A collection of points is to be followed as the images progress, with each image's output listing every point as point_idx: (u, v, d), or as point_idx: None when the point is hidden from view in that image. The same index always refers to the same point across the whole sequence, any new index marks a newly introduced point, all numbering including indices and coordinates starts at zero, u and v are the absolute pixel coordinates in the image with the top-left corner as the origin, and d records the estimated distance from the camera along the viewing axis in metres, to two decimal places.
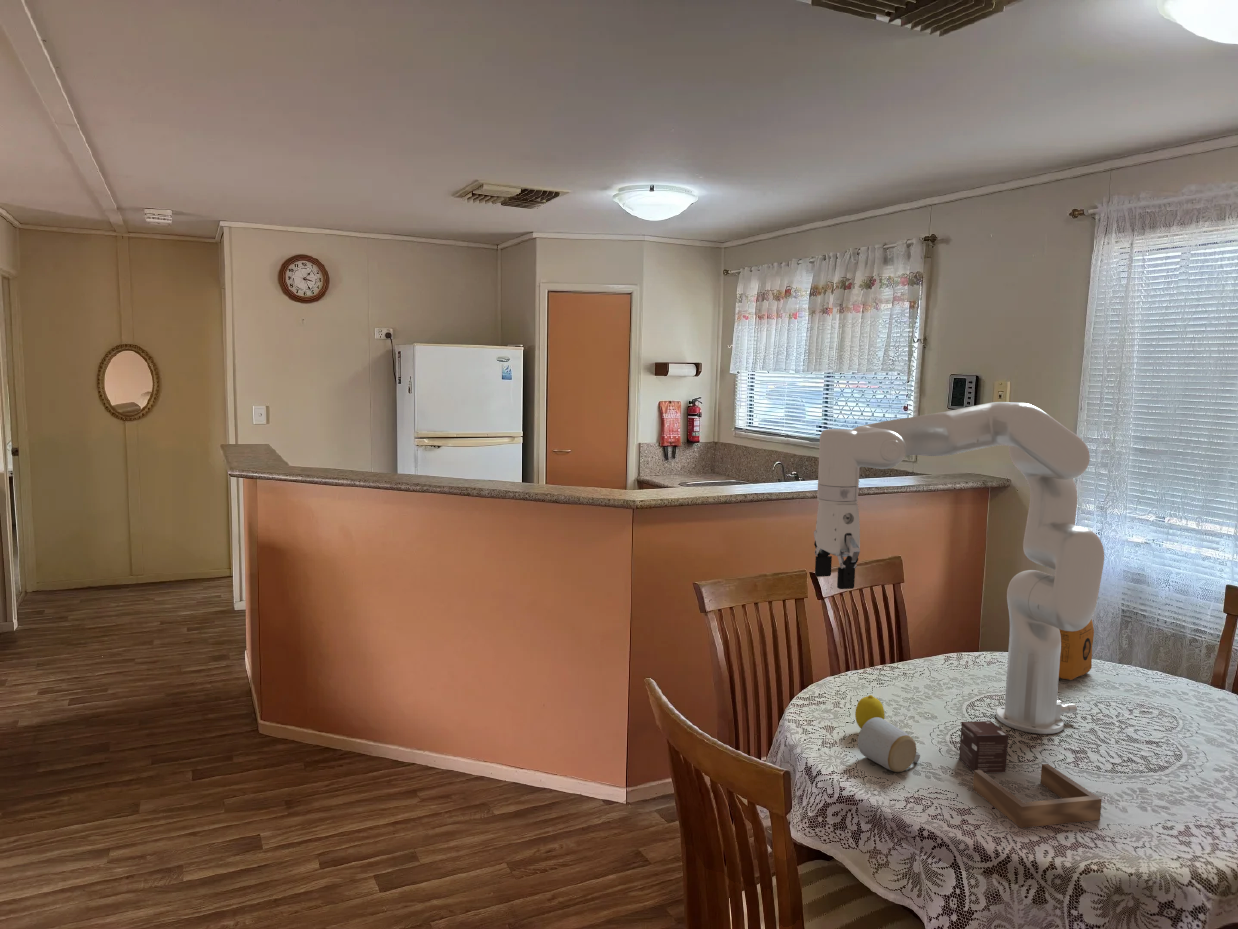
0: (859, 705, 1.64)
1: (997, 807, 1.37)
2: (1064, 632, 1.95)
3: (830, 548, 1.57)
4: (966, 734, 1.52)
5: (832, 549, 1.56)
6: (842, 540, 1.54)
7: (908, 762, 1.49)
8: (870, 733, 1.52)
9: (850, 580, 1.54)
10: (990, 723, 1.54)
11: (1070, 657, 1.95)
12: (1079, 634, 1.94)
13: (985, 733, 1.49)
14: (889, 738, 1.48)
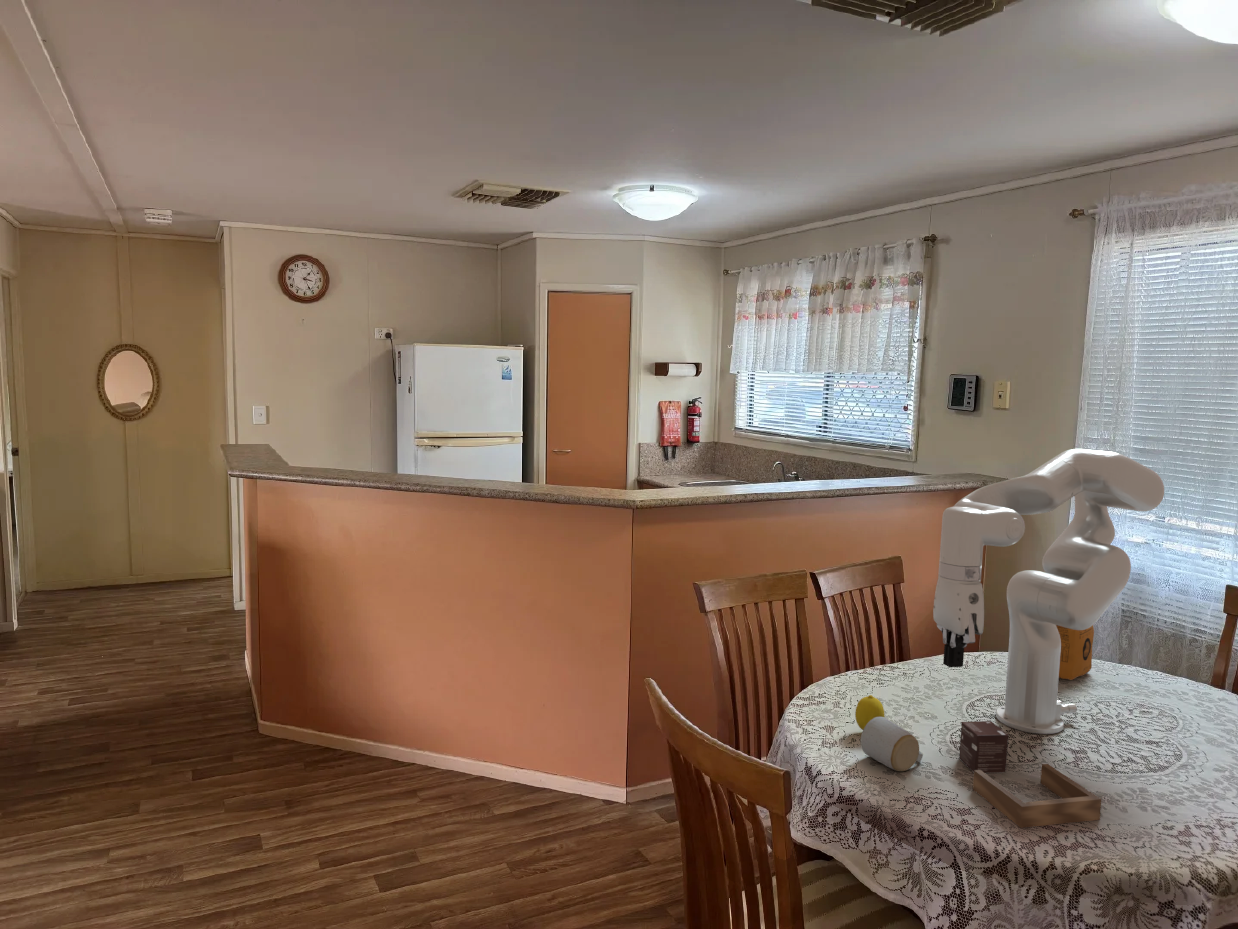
0: (859, 705, 1.64)
1: (997, 807, 1.37)
2: (1064, 632, 1.95)
3: (953, 627, 1.57)
4: (966, 734, 1.52)
5: (955, 628, 1.56)
6: (967, 620, 1.54)
7: (910, 762, 1.49)
8: (872, 732, 1.52)
9: (960, 659, 1.59)
10: (990, 723, 1.54)
11: (1070, 657, 1.95)
12: (1079, 634, 1.94)
13: (985, 733, 1.49)
14: (892, 737, 1.49)
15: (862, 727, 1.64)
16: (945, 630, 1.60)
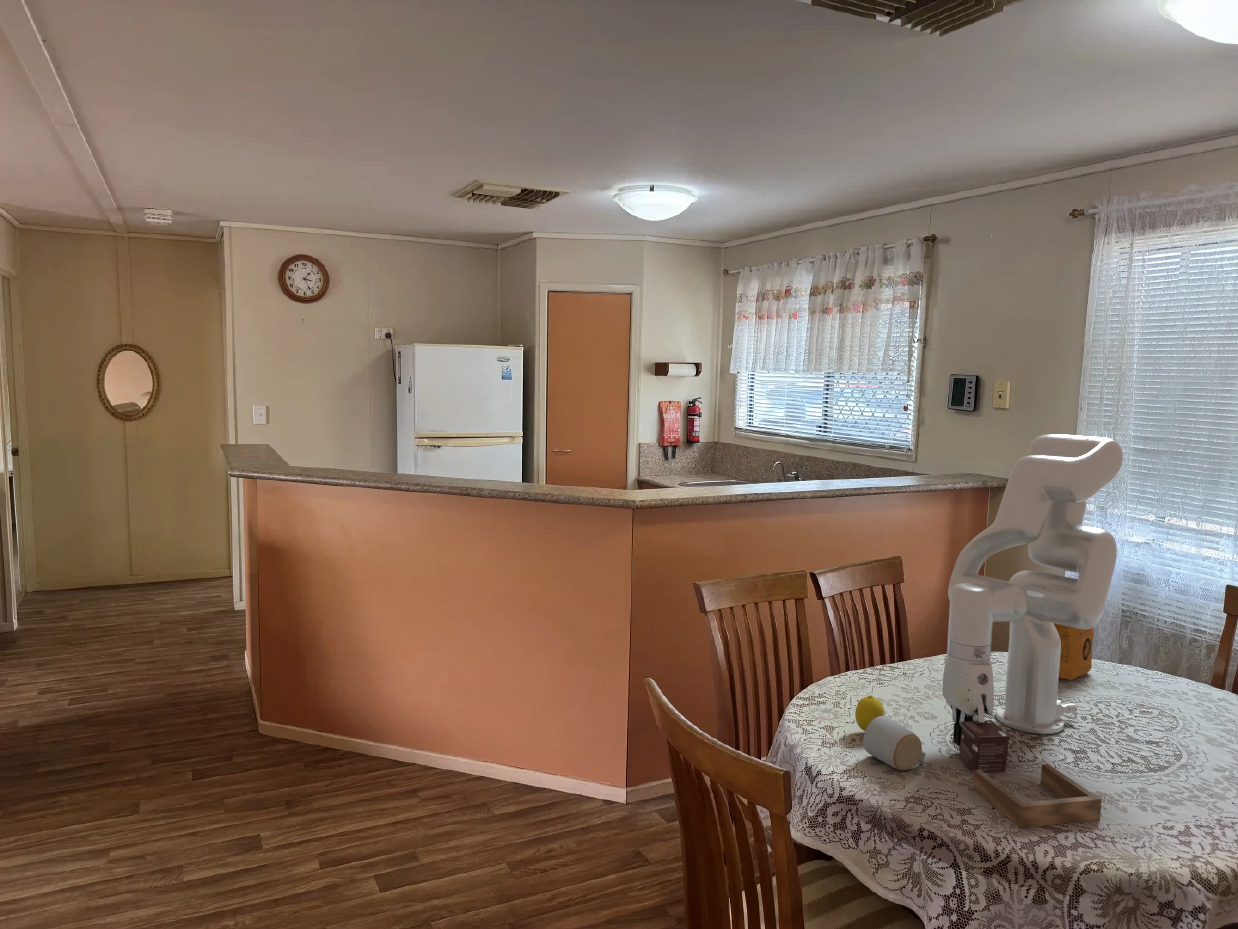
0: (859, 705, 1.64)
1: (997, 807, 1.37)
2: (1064, 632, 1.95)
3: (962, 707, 1.54)
4: (966, 734, 1.52)
5: (964, 708, 1.53)
6: (976, 701, 1.51)
7: (913, 761, 1.50)
8: (875, 732, 1.52)
9: None
10: (991, 722, 1.53)
11: (1070, 657, 1.95)
12: (1079, 634, 1.94)
13: (986, 734, 1.49)
14: (895, 737, 1.49)
15: (862, 727, 1.64)
16: (954, 708, 1.58)
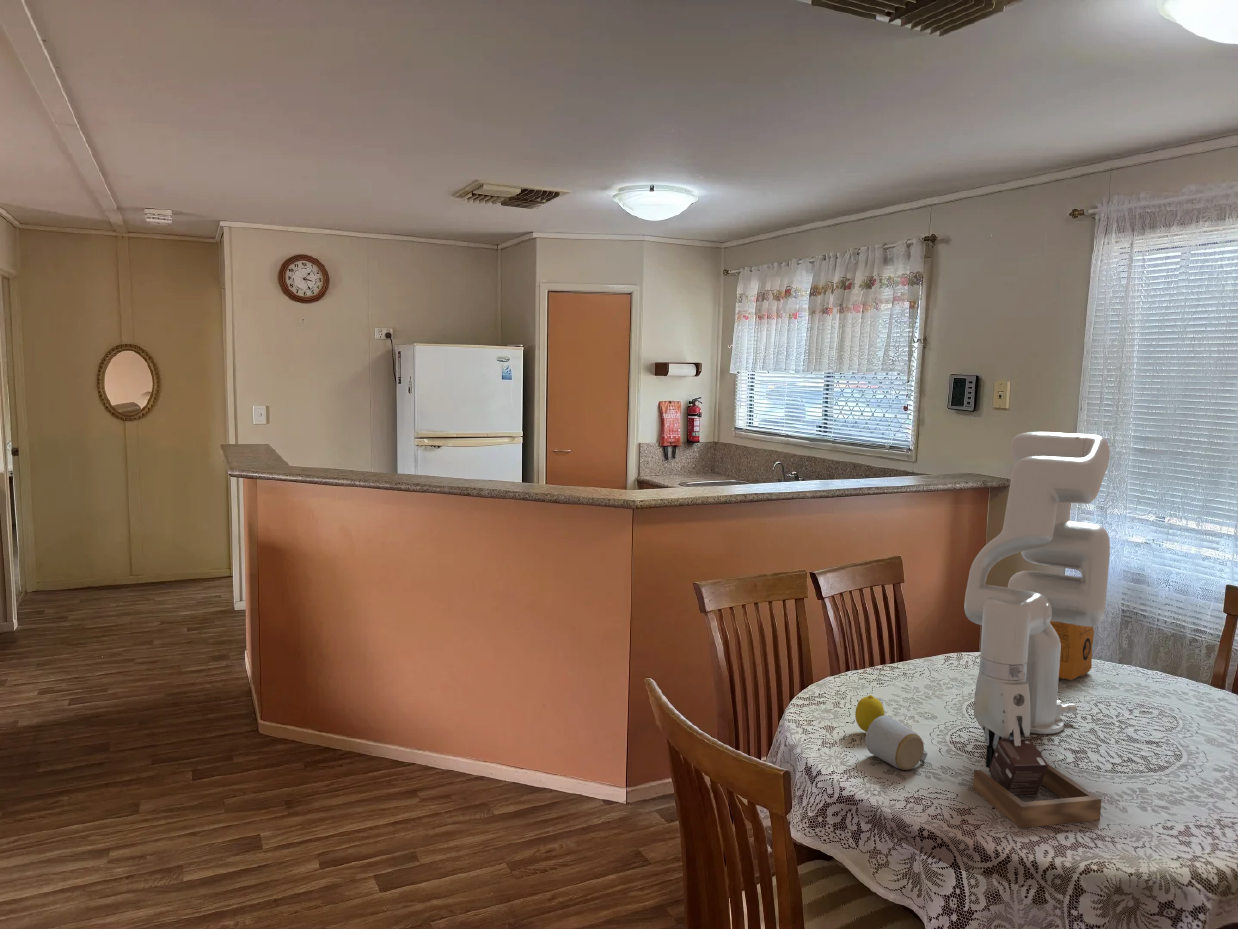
0: (859, 705, 1.64)
1: (997, 807, 1.37)
2: (1064, 632, 1.95)
3: (996, 729, 1.44)
4: (1001, 755, 1.42)
5: (999, 731, 1.43)
6: (1012, 723, 1.41)
7: (915, 760, 1.50)
8: (877, 731, 1.52)
9: None
10: (1029, 742, 1.43)
11: (1070, 657, 1.95)
12: (1079, 634, 1.94)
13: (1023, 761, 1.39)
14: (896, 736, 1.49)
15: (862, 727, 1.64)
16: (987, 730, 1.48)
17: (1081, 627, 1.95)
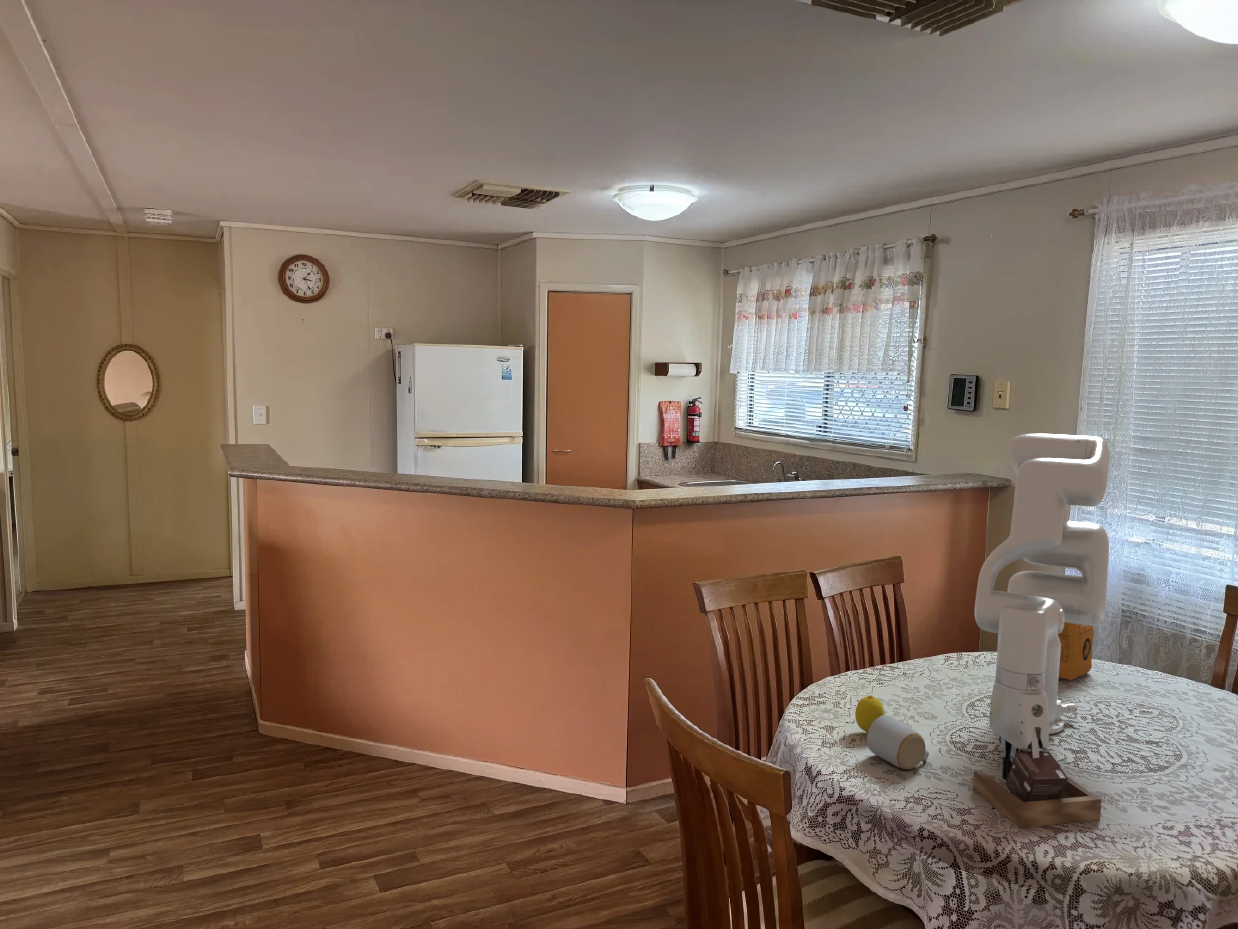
0: (859, 705, 1.64)
1: (997, 807, 1.37)
2: (1064, 632, 1.95)
3: (1013, 741, 1.40)
4: (1019, 768, 1.37)
5: (1016, 742, 1.39)
6: (1030, 735, 1.37)
7: (917, 760, 1.50)
8: (879, 731, 1.53)
9: None
10: (1048, 754, 1.38)
11: (1070, 657, 1.95)
12: (1079, 634, 1.94)
13: (1042, 774, 1.34)
14: (898, 736, 1.49)
15: (862, 727, 1.64)
16: (1004, 741, 1.43)
17: (1081, 627, 1.95)
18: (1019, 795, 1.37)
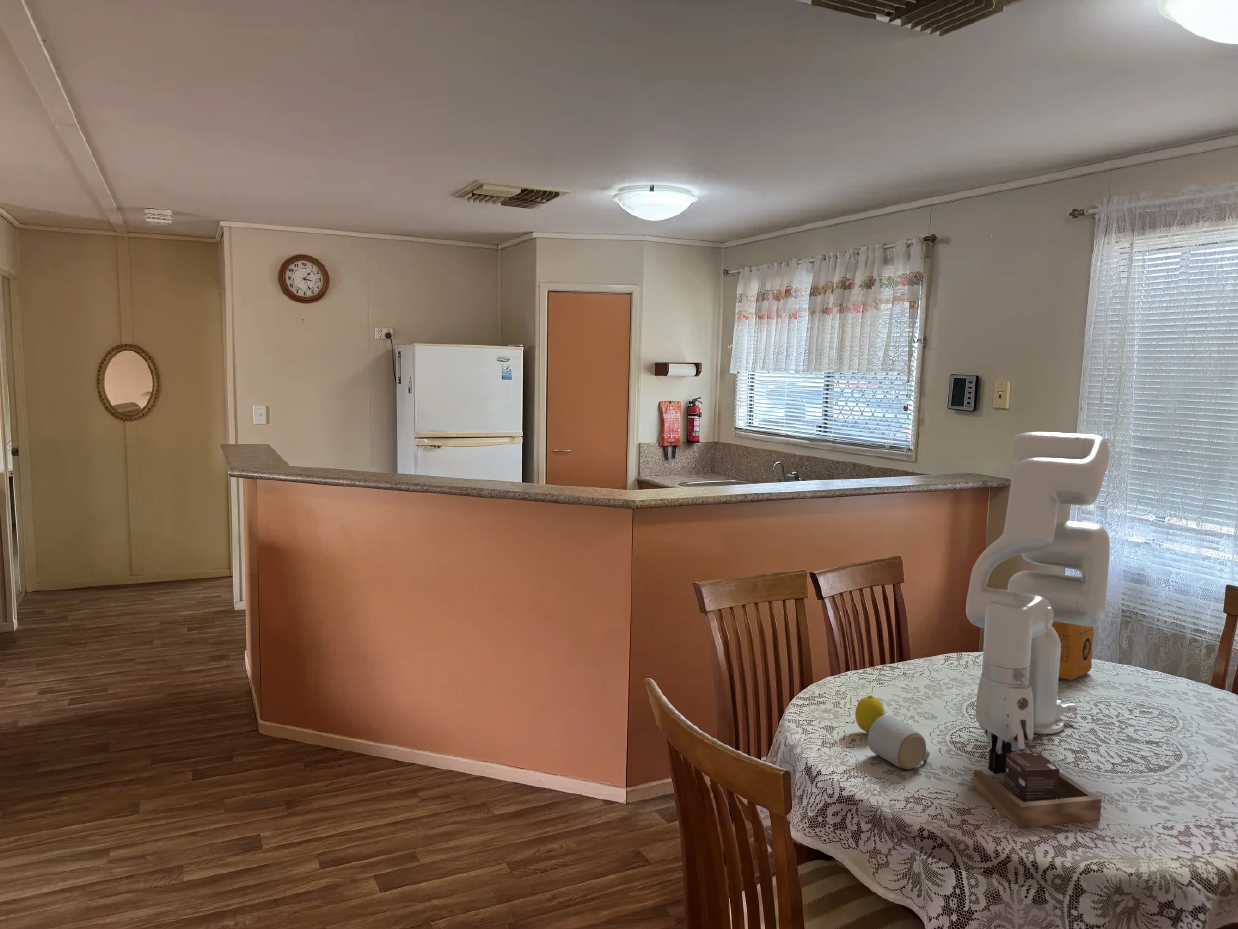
0: (859, 705, 1.64)
1: (997, 807, 1.37)
2: (1064, 632, 1.95)
3: (1000, 733, 1.44)
4: (1011, 767, 1.39)
5: (1003, 735, 1.44)
6: (1016, 727, 1.42)
7: (917, 760, 1.50)
8: (880, 730, 1.53)
9: None
10: (1038, 754, 1.41)
11: (1070, 657, 1.95)
12: (1079, 634, 1.94)
13: (1033, 767, 1.36)
14: (899, 735, 1.50)
15: (862, 727, 1.64)
16: (990, 733, 1.48)
17: (1081, 627, 1.95)
18: (1017, 796, 1.38)
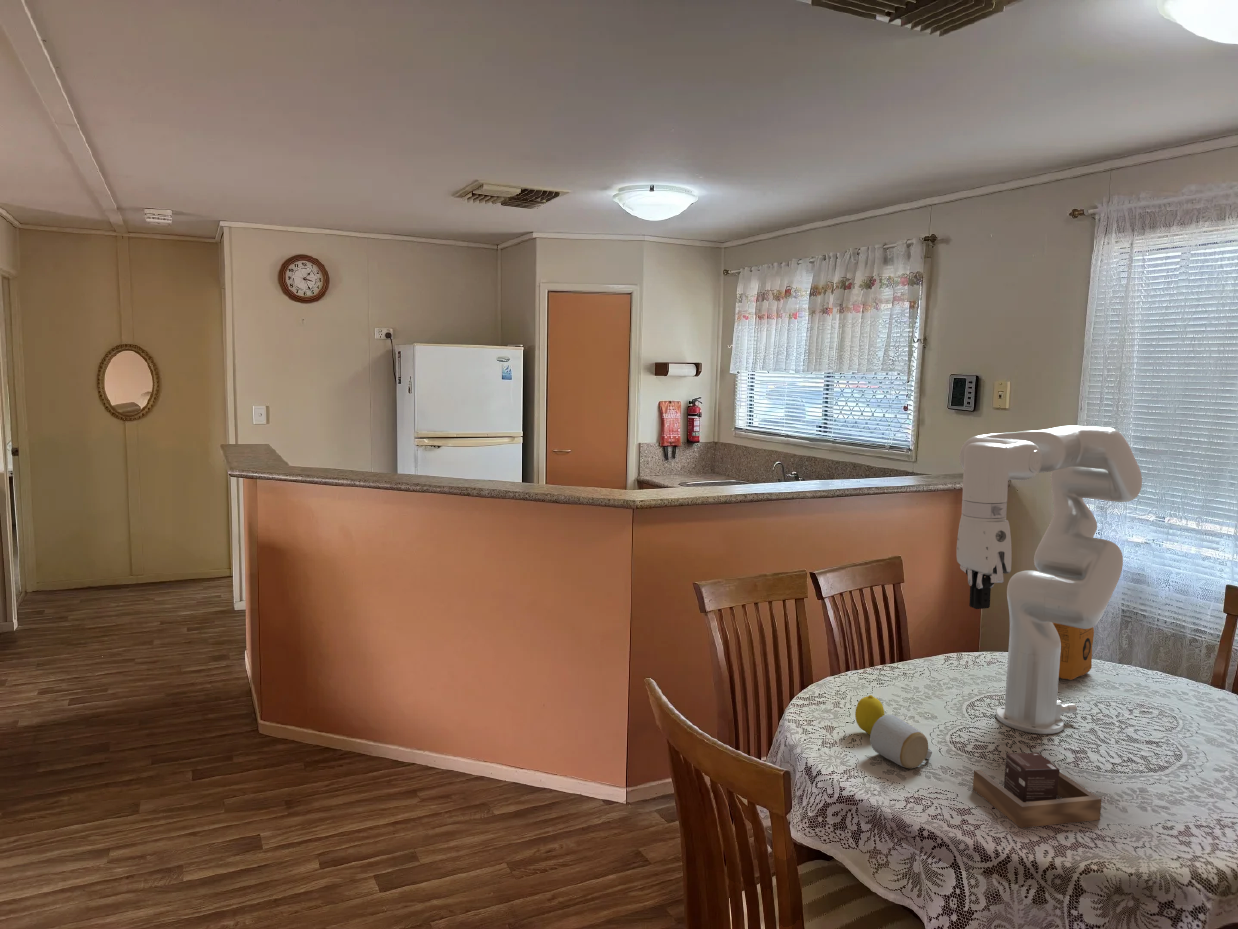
0: (859, 705, 1.64)
1: (997, 807, 1.37)
2: (1064, 632, 1.95)
3: (979, 567, 1.51)
4: (1011, 767, 1.39)
5: (982, 568, 1.50)
6: (995, 559, 1.48)
7: (920, 759, 1.51)
8: (882, 730, 1.53)
9: (987, 600, 1.53)
10: (1038, 754, 1.41)
11: (1070, 657, 1.95)
12: (1079, 634, 1.94)
13: (1033, 767, 1.36)
14: (901, 735, 1.50)
15: (862, 727, 1.64)
16: (970, 571, 1.55)
17: None
18: (1017, 796, 1.38)
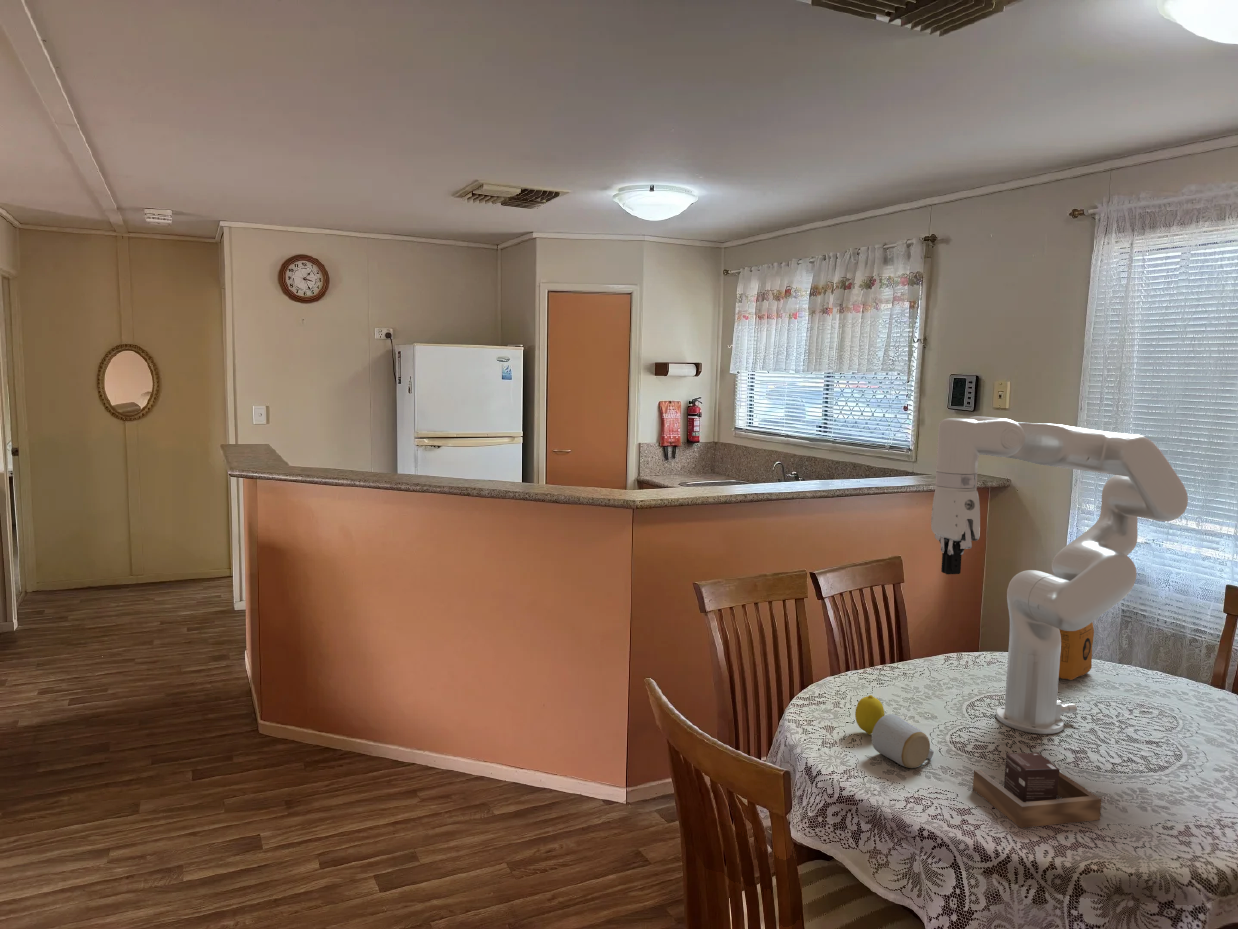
0: (859, 705, 1.64)
1: (997, 807, 1.37)
2: (1064, 632, 1.95)
3: (950, 534, 1.61)
4: (1011, 767, 1.39)
5: (952, 535, 1.61)
6: (963, 526, 1.59)
7: (921, 759, 1.51)
8: (883, 729, 1.53)
9: (957, 566, 1.63)
10: (1038, 754, 1.41)
11: (1070, 657, 1.95)
12: (1079, 634, 1.94)
13: (1033, 767, 1.36)
14: (903, 735, 1.50)
15: (862, 727, 1.64)
16: (943, 539, 1.65)
17: None
18: (1017, 796, 1.38)
